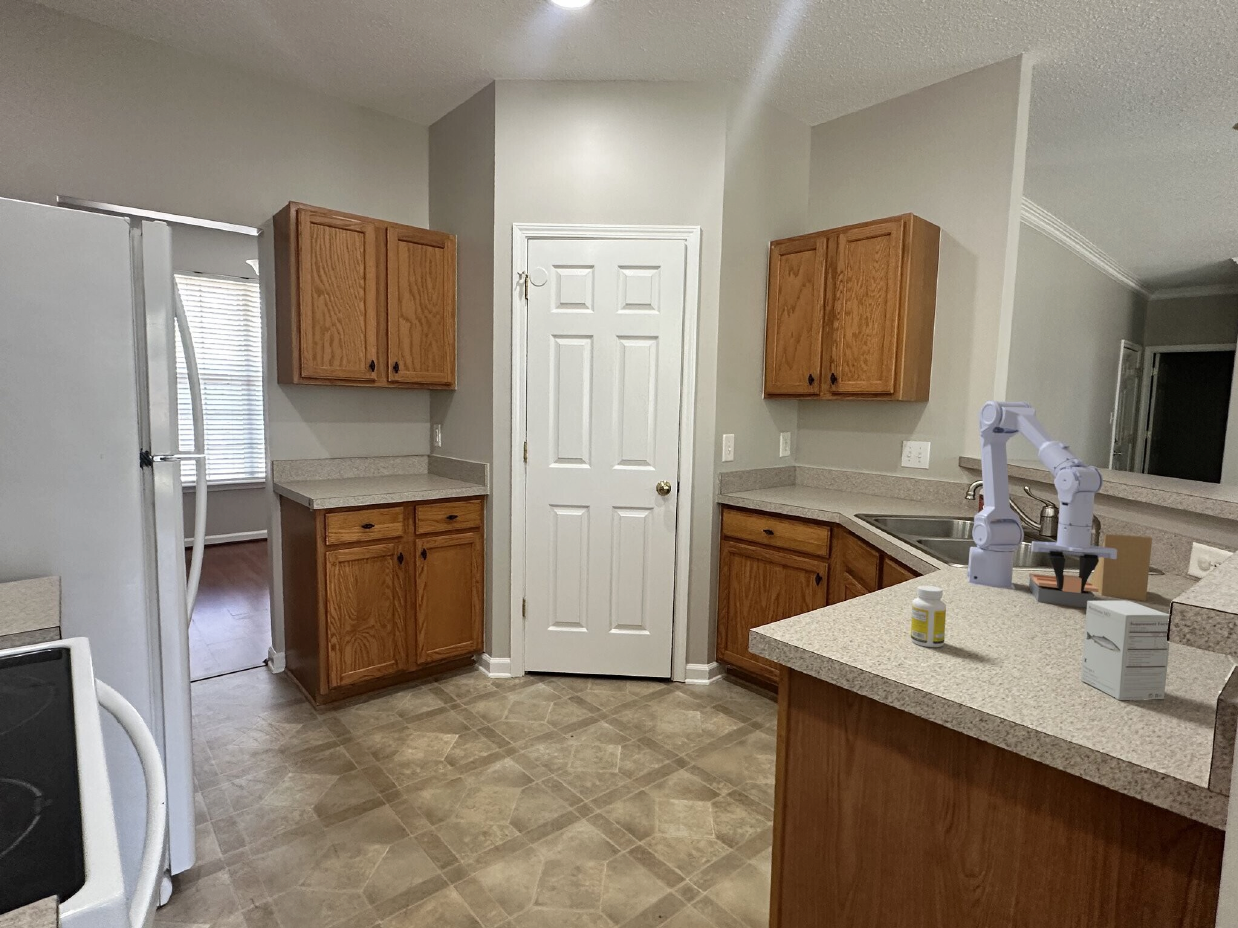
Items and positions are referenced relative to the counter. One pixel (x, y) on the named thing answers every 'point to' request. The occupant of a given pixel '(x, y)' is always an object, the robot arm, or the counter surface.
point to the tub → (1060, 596)
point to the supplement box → (1125, 650)
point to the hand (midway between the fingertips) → (1070, 589)
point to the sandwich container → (1124, 567)
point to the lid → (1069, 582)
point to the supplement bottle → (928, 617)
